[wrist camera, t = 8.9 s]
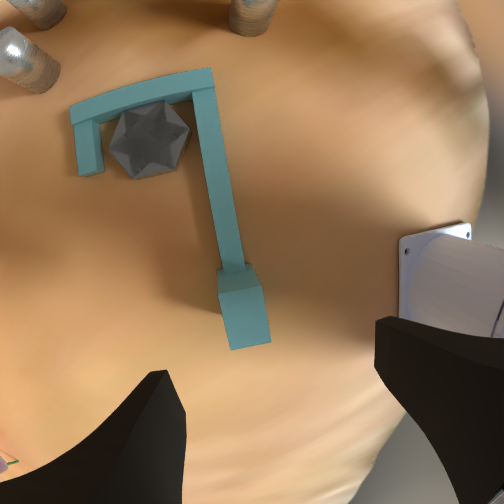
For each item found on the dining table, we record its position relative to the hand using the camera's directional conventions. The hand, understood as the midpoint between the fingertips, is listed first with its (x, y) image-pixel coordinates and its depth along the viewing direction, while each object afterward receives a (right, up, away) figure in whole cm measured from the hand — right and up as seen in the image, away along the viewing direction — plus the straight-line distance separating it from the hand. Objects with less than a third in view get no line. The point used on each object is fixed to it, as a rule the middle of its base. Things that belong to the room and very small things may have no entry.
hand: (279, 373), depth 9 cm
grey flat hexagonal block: (-7, +10, +6) cm, 14 cm away
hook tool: (-6, +6, +7) cm, 11 cm away
